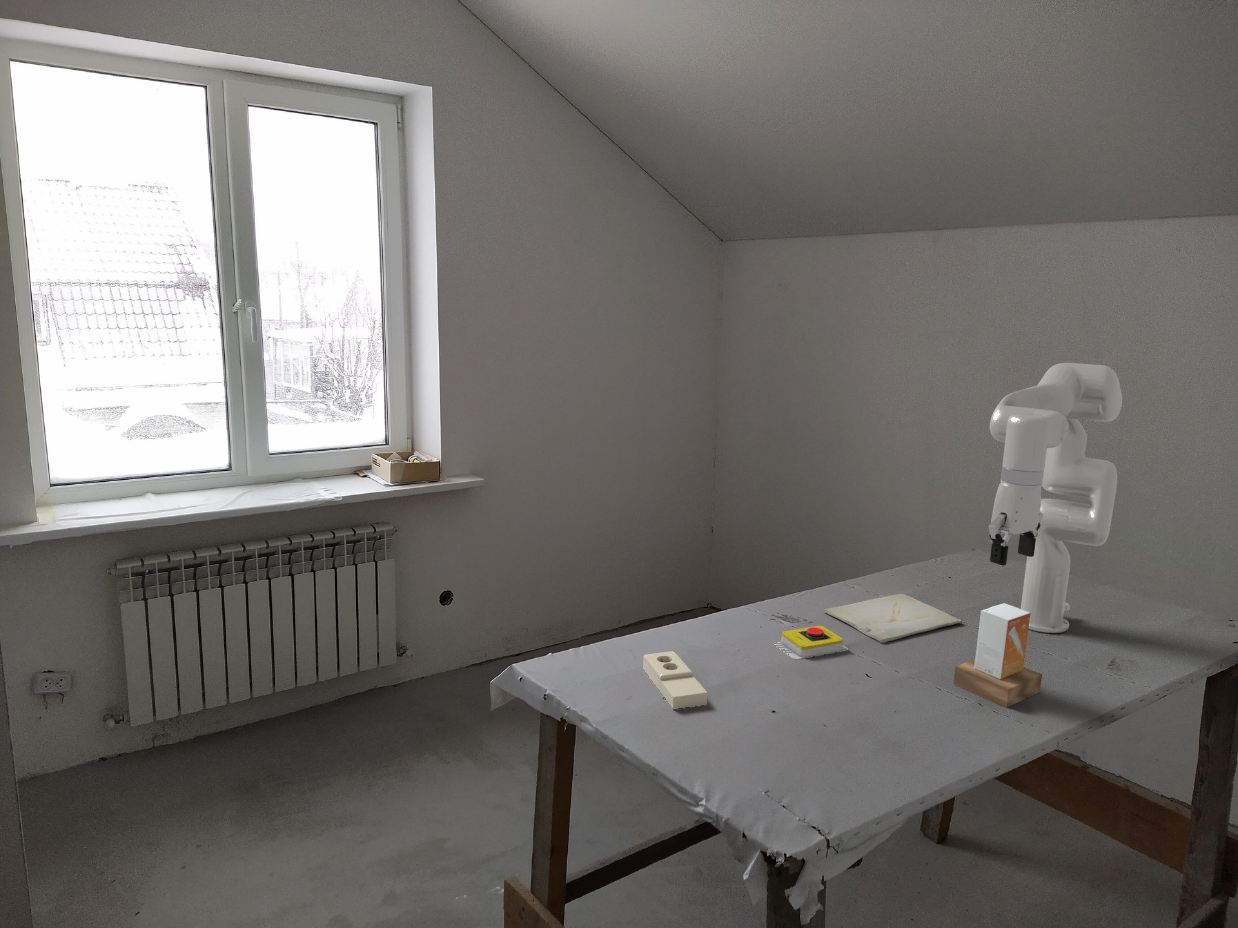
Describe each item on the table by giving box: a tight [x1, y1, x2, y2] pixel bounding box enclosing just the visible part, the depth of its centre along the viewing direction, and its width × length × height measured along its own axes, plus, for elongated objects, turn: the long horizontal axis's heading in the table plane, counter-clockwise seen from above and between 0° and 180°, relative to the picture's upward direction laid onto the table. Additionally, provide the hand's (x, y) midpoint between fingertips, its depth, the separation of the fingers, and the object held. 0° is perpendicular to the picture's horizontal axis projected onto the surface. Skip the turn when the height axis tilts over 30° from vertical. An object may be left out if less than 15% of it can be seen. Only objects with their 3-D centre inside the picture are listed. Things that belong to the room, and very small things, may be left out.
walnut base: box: [953, 658, 1043, 709], centre depth 179 cm, size 12×12×4 cm
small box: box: [974, 603, 1031, 679], centre depth 177 cm, size 8×6×13 cm
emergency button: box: [773, 625, 849, 660], centre depth 198 cm, size 9×4×15 cm
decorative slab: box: [823, 593, 963, 644], centre depth 215 cm, size 27×21×2 cm
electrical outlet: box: [642, 650, 708, 709], centre depth 177 cm, size 7×4×18 cm
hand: (1011, 559), depth 173 cm, fingers open, 9 cm apart
